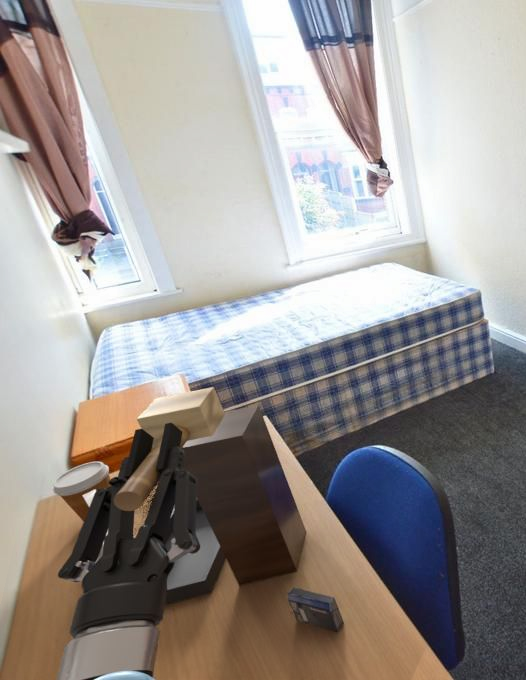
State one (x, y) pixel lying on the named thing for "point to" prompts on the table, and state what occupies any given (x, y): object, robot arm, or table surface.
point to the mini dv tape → (315, 609)
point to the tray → (195, 563)
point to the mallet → (185, 413)
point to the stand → (247, 497)
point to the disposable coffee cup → (81, 485)
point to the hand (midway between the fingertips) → (159, 431)
